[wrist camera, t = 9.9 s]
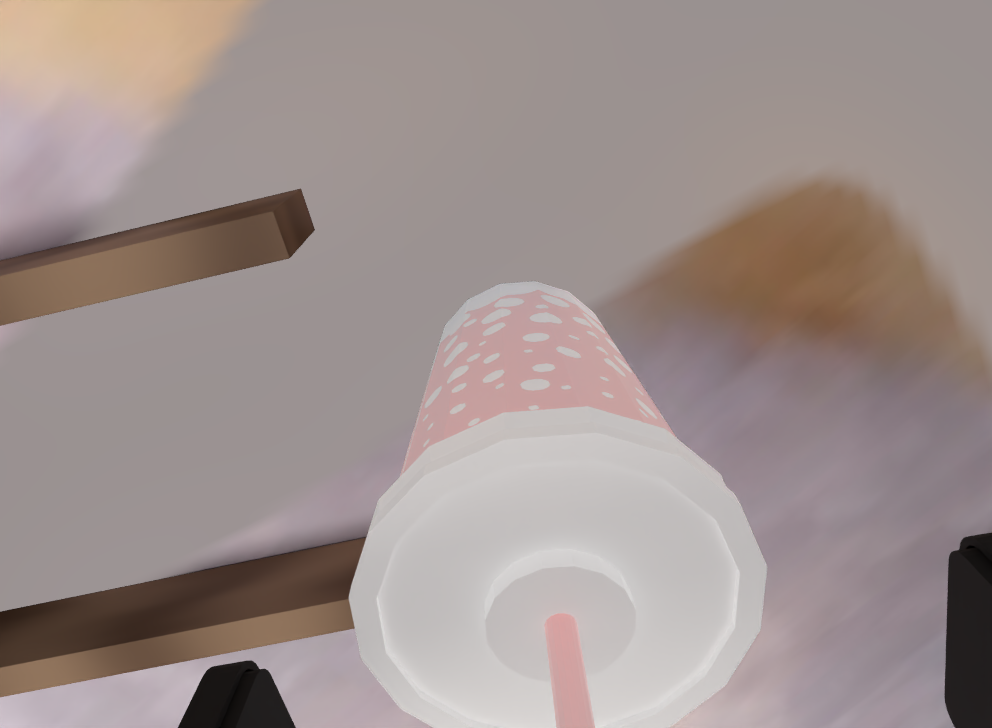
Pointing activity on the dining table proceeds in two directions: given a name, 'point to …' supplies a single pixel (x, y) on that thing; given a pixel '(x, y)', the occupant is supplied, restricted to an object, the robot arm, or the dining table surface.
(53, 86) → the dining table surface
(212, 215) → the frame
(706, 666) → the beverage cup
